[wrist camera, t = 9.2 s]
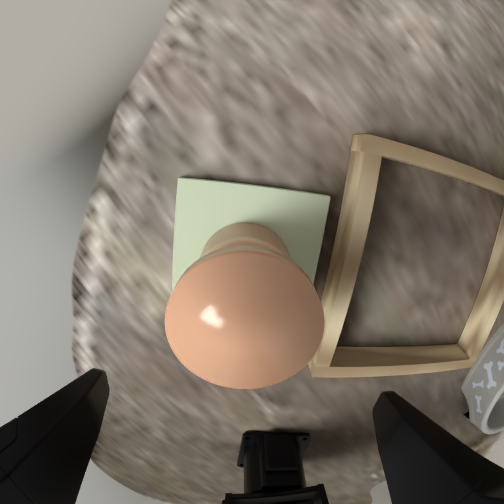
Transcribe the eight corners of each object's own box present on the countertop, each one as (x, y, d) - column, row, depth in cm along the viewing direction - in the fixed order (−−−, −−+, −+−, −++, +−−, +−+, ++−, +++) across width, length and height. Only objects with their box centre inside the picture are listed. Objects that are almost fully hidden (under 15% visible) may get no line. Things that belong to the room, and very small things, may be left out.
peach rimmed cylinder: (288, 317, 20) (306, 392, 14) (190, 307, 20) (166, 380, 13) (306, 220, 18) (340, 264, 11) (195, 208, 18) (164, 246, 11)
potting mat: (298, 333, 22) (300, 338, 21) (173, 321, 21) (171, 326, 20) (327, 195, 18) (330, 196, 18) (180, 177, 18) (178, 178, 17)
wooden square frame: (459, 352, 23) (472, 367, 21) (306, 355, 22) (312, 377, 20) (513, 188, 18) (533, 194, 16) (352, 135, 17) (368, 134, 15)
